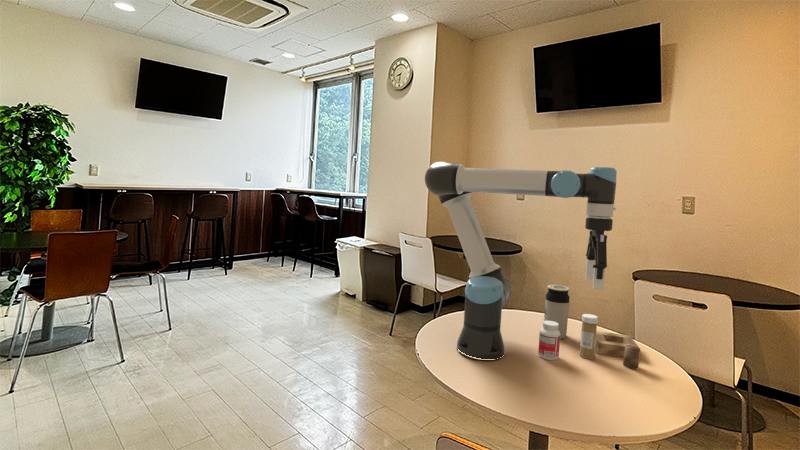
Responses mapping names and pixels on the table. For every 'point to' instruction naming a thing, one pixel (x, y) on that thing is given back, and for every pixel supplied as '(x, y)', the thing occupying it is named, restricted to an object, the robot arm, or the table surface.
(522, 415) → the table surface
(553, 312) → the travel mug
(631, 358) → the walnut stub
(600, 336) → the oak collar
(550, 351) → the pill bottle
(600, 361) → the table surface
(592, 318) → the sprinkles bottle
